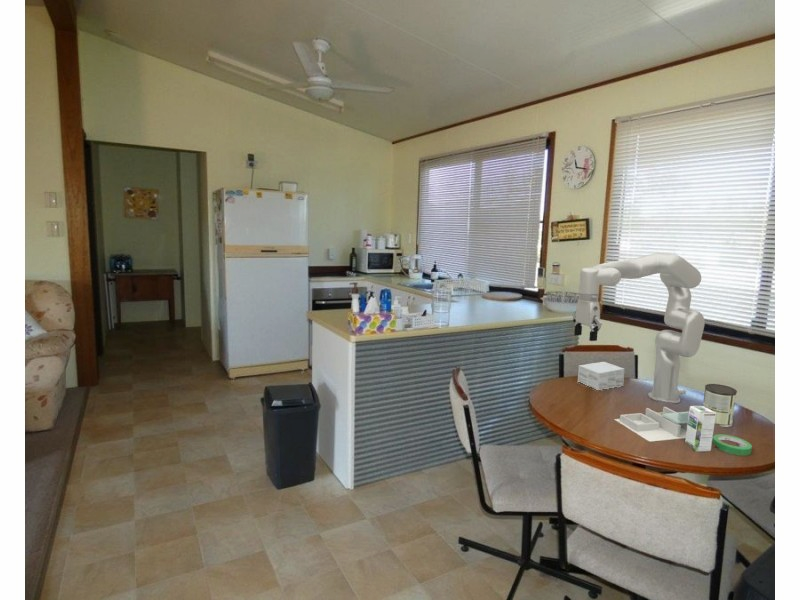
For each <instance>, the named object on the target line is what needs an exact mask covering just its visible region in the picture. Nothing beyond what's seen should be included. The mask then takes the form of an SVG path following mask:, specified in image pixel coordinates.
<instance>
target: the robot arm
mask: <svg viewBox="0 0 800 600" xmlns="http://www.w3.org/2000/svg"><path fill="white" fill-rule="evenodd" d="M656 274H659V278H660V280H661V282H662V283H663V284H664V286H665V287H666V289H667V293H668V298H667V303H666V307H665V312H664V318H663V321H664V324H665V325H666V326H668V327H670V328H674V329H676V331H675V330H671V329H663V330H660V331H659V332H658V333H656V336H655V338H654V343H655V363H654V364H655V365H654V373H653V382H652V391H650V392H648V393H647V397H648V398H649V399H651V400H653V401H656V402H666V403H667V402H668V403H672V404H679V403H680V402H681V397H679V396H681V395H686V394H687V392H686V390H684V389H683V390H682V389H681V390H680V389H678V387H679V378H680V371H681V370H680V369H681V357H684V358H692V357H694V356H695V355H696V354H697V352H698V351H699V349H700V344H701V341H702V337H703V333H704V329H705V325H706V323H705V317H704V314H702V313H701V311H698V310H696V309H691V303H692V301H691V300H692V292H691V289H695V288H697V287H698V286H700V284H701V282H702V274H701V272H700V270H699V269H698V268H697V267H695V266H693V265H692V264H691V263H690V262H689V261H688V260H686V259H685V258H683V257H682V256H680V255H678V254H675V253H664V252H656V253H651V254H647V255H643V256H639V257H636V258H635V257H633V258H630V259H623V260H615V261H609V262H605V263H604V262H602V263H600V264H596V265H593V266H591V267H589V266H588V267H587V266H585V267H582V268H581V269H580V274H579V287H578V298H577V299H578V300H577V305H576V309H575V313H573V314H572V321H573V325H574V336H582V334H583V333H582V332H583V325H584V326H587V327H589V329H590V331H589V342H596V341H598V332H600V330H601V327H602V326H603V322H602V320H601V310H600V309H601V306H600V302H599V293H600V292H599V291H600V286H608V287H609V286H611V287H612V286H615V285H618V284H619V283H620V282H621V279H625V280H627V279H628V280H635V279H640V278H645V277H648V276H652V275H656ZM677 330H680V331H681V332H679V331H677ZM680 356H681V357H680Z"/></svg>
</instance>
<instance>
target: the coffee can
mask: <svg viewBox="0 0 800 600" xmlns="http://www.w3.org/2000/svg"><path fill="white" fill-rule="evenodd" d="M737 394H738V391H737V389H736V388H733V387H731V386H728V385H725V384H718V383H707V384H705V385H704V396H703V403H702V406H704V407H706V408H708V409H710V410H712V411H714V412H716V417H715V424H716V425H717V426H719V427H721V428H730V427H732V426H733V423H734V422H733V421H734V420H733V419H734V415H735V414H734V413H735V412H734V411H735V407H736V406H735V404H736V398H737ZM715 424H714V425H715Z"/></svg>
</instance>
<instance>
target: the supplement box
mask: <svg viewBox="0 0 800 600" xmlns="http://www.w3.org/2000/svg"><path fill="white" fill-rule="evenodd" d="M577 374H578V375H577V383H578V382H581V383H583V384H585V385H587V386H589V387H592V388H594V389H596V390H601V391H603V390H602V389H607V390H610V389H609V388H612V389H615V388H614V387H617V388H621V386H623V387H624V381H625V368H623V367H622V366H621V367H620V366H618V365H616V364H612V363H608V362H607V361H600V362H592V363H587V364H581V365H578V373H577ZM587 386H586V387H587ZM589 387H588V388H589ZM594 389H593V390H594ZM596 390H595V391H596Z"/></svg>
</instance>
